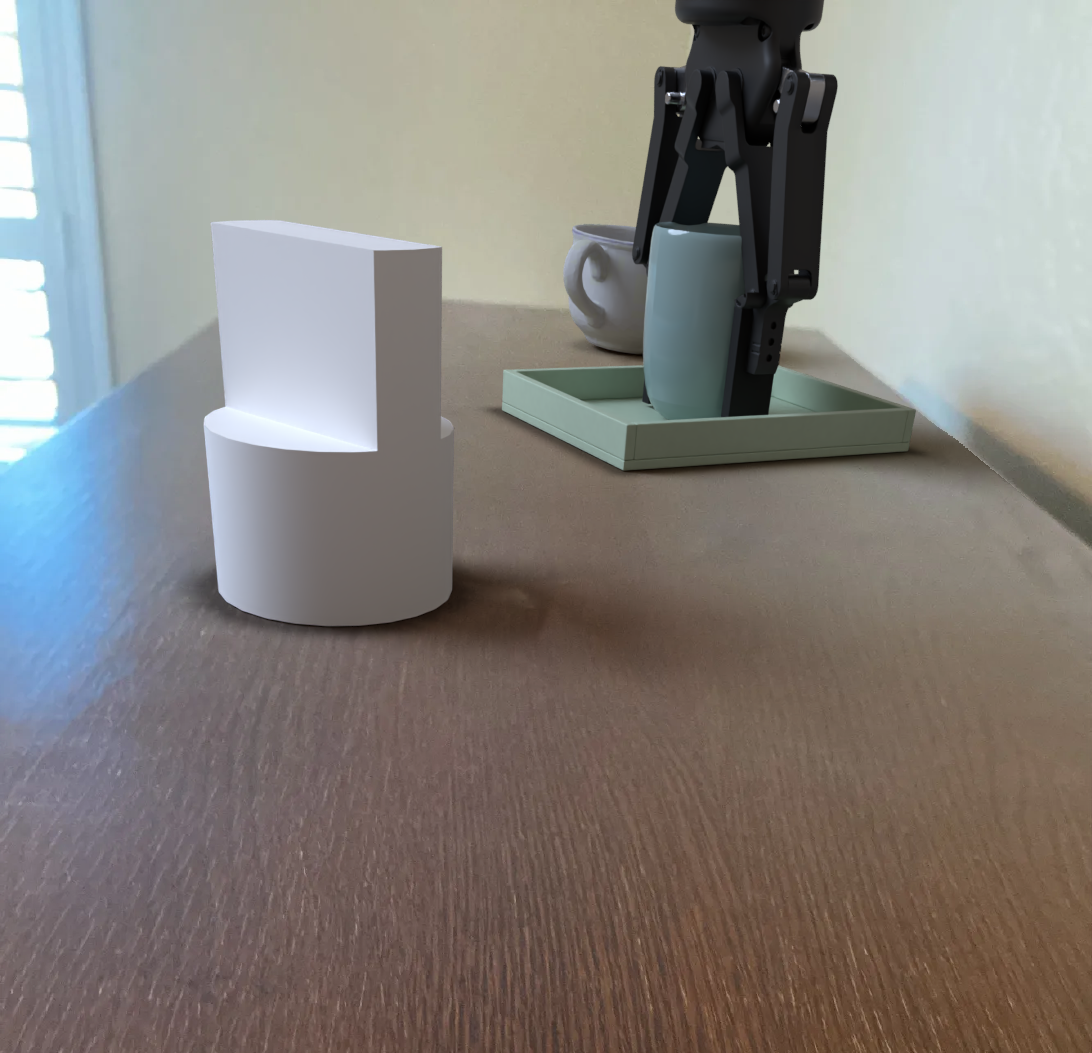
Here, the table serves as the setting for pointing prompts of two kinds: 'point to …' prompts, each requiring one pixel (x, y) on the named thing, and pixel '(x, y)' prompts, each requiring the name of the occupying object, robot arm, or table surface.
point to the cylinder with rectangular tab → (329, 426)
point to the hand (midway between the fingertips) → (701, 416)
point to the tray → (702, 420)
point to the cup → (690, 316)
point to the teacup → (606, 287)
